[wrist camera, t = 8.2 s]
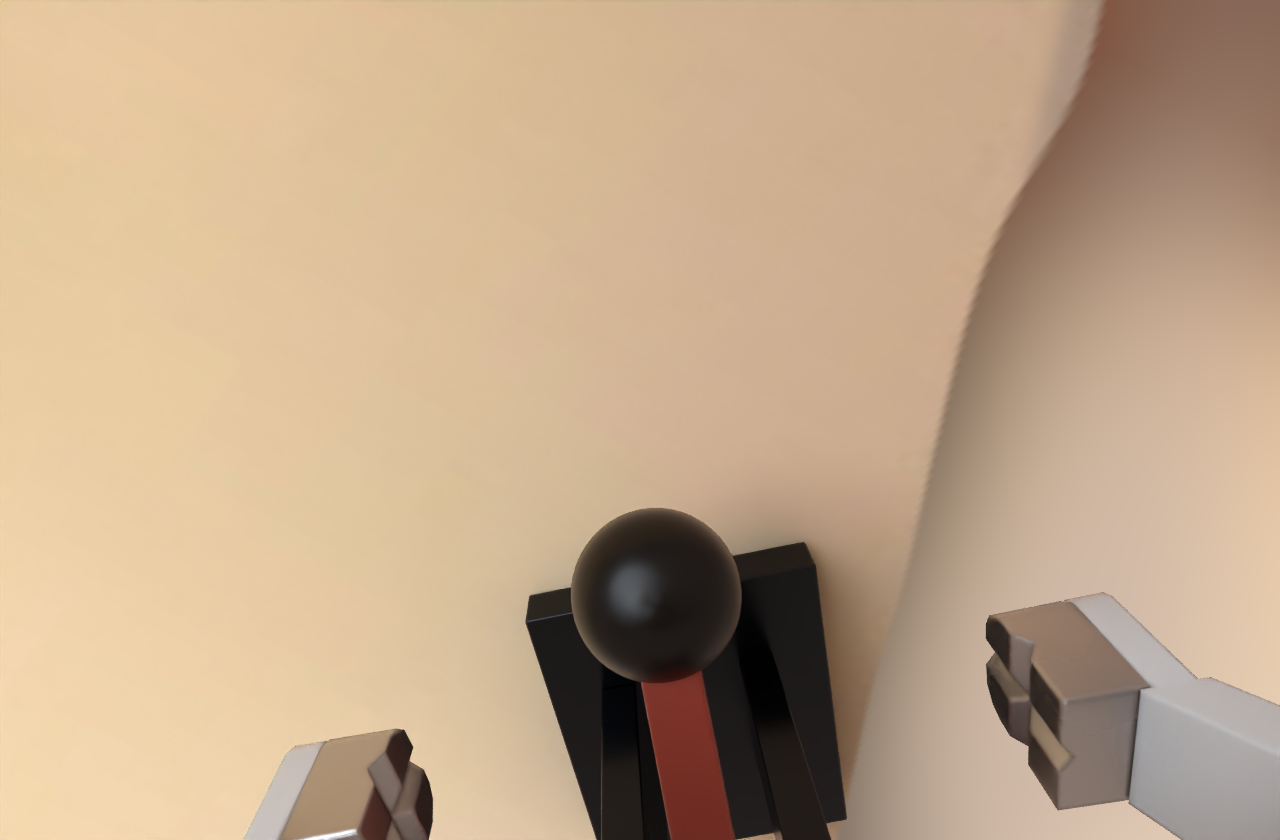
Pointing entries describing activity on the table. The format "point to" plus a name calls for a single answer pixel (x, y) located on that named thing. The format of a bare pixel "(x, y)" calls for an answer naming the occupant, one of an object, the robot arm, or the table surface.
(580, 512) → the table surface
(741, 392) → the table surface
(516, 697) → the table surface
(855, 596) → the table surface
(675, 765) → the switch lever
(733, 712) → the switch bracket
